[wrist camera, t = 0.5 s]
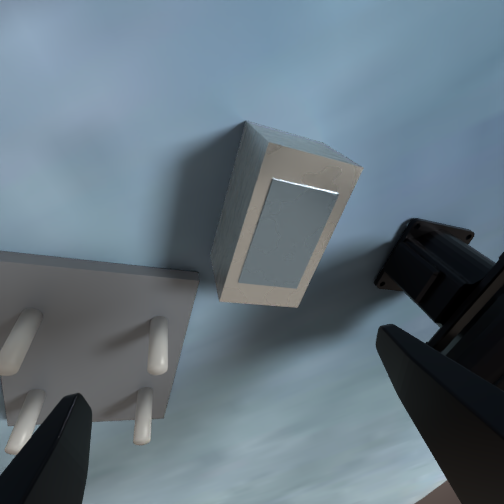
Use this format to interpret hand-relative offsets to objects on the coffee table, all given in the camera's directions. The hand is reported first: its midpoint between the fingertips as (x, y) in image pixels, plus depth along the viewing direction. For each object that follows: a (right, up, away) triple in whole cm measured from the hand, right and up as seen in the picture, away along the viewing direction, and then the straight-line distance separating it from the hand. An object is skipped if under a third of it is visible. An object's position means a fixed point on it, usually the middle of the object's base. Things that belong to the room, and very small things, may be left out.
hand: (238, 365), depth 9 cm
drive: (+1, +7, +11) cm, 13 cm away
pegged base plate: (-11, -4, +14) cm, 19 cm away
